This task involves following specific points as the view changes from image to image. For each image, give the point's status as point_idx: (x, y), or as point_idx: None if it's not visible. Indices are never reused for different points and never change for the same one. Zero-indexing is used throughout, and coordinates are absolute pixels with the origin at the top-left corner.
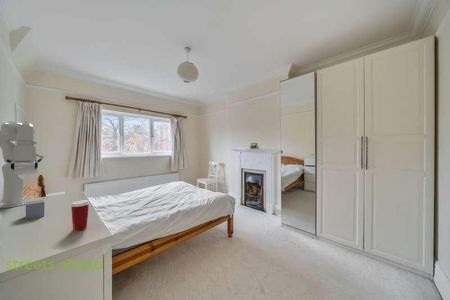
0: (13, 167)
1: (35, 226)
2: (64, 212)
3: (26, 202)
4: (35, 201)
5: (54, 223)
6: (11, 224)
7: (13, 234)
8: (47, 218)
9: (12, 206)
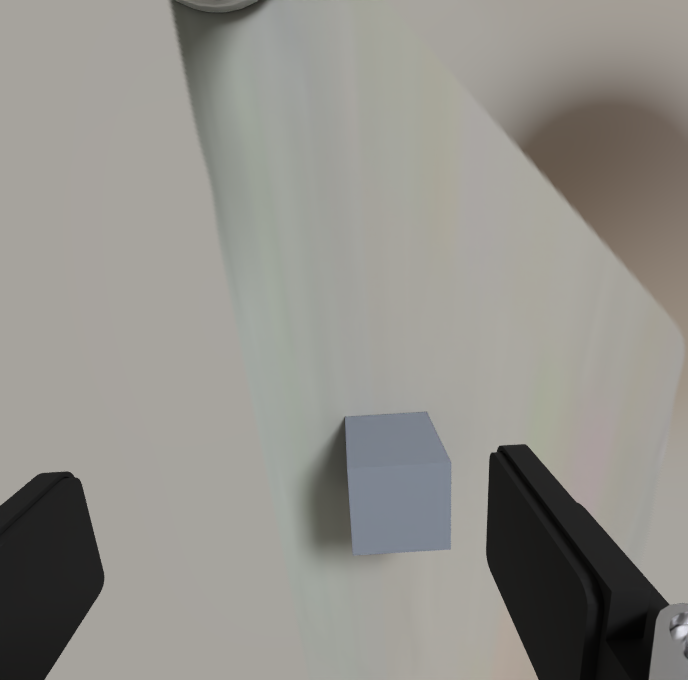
0: (53, 651)
1: (394, 625)
2: None
3: (349, 483)
4: (400, 488)
5: (460, 634)
6: (302, 529)
7: (331, 669)
8: None
9: (219, 9)
